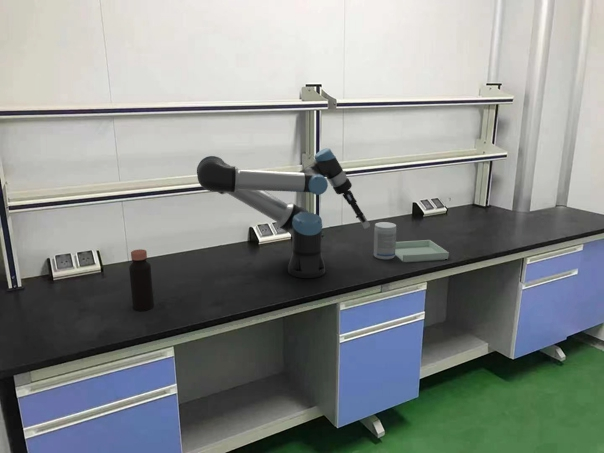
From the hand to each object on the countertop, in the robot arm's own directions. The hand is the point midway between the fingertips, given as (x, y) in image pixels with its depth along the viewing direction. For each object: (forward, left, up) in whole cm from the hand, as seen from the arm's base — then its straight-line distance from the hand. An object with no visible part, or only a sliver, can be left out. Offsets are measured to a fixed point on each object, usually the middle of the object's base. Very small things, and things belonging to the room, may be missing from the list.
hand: (364, 221), depth 214 cm
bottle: (-91, -34, -16) cm, 98 cm away
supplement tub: (+9, -2, -16) cm, 19 cm away
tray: (+25, -2, -16) cm, 30 cm away
